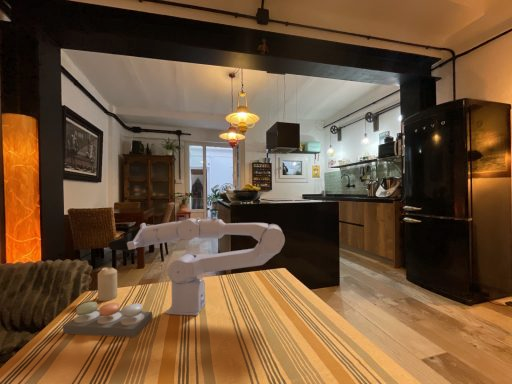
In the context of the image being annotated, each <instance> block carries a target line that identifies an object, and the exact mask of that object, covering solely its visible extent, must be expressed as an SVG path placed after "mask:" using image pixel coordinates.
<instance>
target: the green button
mask: <svg viewBox="0 0 512 384" xmlns="http://www.w3.org/2000/svg"><path fill="white" fill-rule="evenodd" d="M96 310H98V303H97V302H96V301H88V302H84V303H82V304H80V305H77V307H76V315H77V316H79V315H87V314H90V313H92V312H94V311H96Z"/></svg>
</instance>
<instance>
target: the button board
mask: <svg viewBox="0 0 512 384" xmlns="http://www.w3.org/2000/svg"><path fill="white" fill-rule="evenodd" d="M152 320H153V312H152V311H142V312H141V313H140V314H139V315H137V316H134V317H124V316H123V310H119V311H118V312H117V313H115V314H113V315H110V316H100V309H97V310H96V311H94V312H92V313H90V314H87V315H77V316H76V317H75V318H72V319H71V320H70V321H67V322H66V323H64V324H63V325H62V334H69V335H71V334H72V335H87V336H103V337H104V336H106V337H123V338H127V337H128V338H135V337H136V336H137V335H138V334H139V333H140V332H141V331H142V330H143V329H144V328H145V327H146V326H148V324H149V323H150V322H151V321H152Z"/></svg>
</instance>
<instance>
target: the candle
mask: <svg viewBox="0 0 512 384" xmlns="http://www.w3.org/2000/svg"><path fill="white" fill-rule="evenodd" d="M115 297H116V298H117V297H118V270H117V269H116V268H114V267H103V268H102V269H101V270H100V271H98V273H97V300H98V301H99V302H108V301H111V300H114V299H116V298H115Z"/></svg>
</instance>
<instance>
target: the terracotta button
mask: <svg viewBox="0 0 512 384" xmlns="http://www.w3.org/2000/svg"><path fill="white" fill-rule="evenodd" d="M99 310H100V316H110V315H113V314H115V313H117V312H118V311H120V303H118V302H109V303H106V304H104V305H101V306H100V307H99Z"/></svg>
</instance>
